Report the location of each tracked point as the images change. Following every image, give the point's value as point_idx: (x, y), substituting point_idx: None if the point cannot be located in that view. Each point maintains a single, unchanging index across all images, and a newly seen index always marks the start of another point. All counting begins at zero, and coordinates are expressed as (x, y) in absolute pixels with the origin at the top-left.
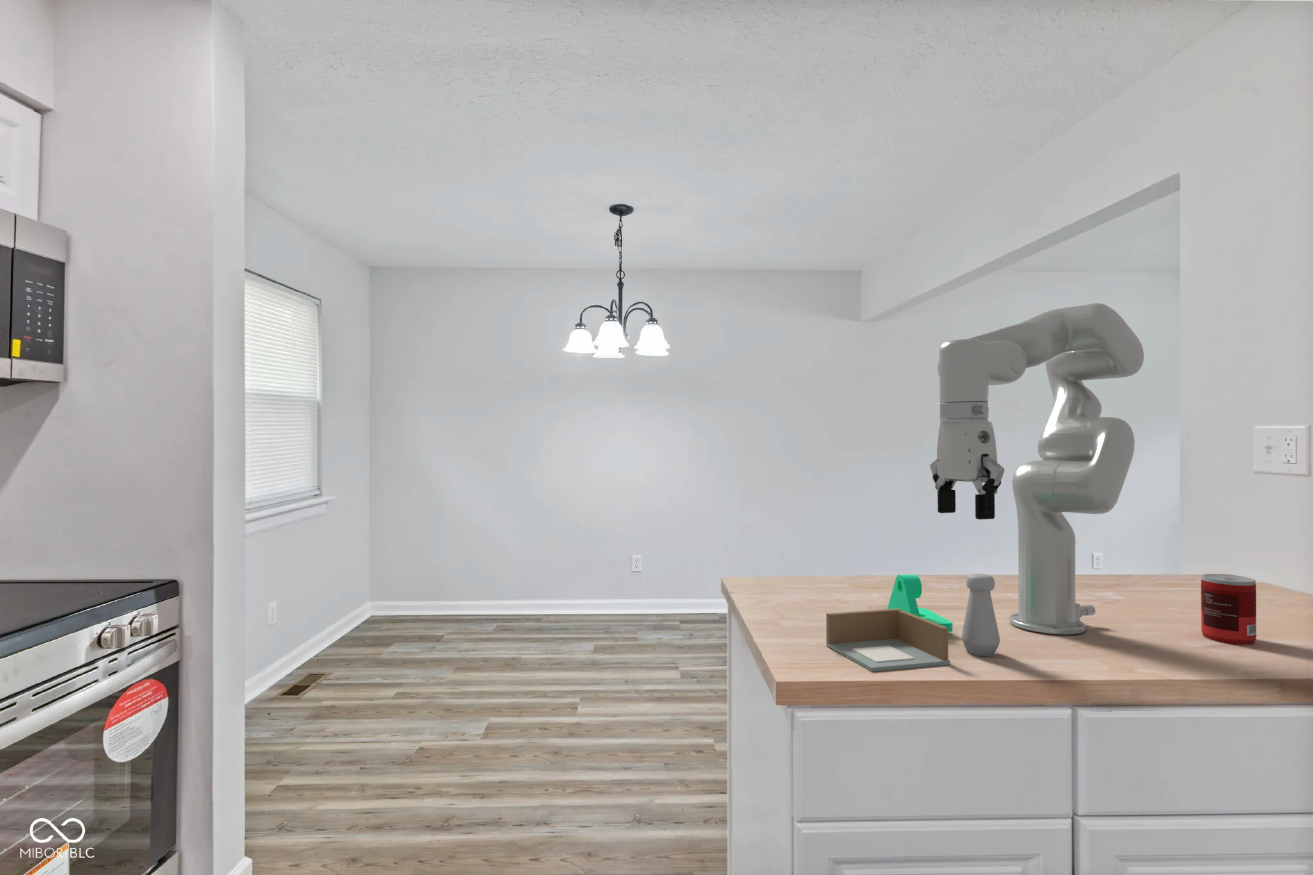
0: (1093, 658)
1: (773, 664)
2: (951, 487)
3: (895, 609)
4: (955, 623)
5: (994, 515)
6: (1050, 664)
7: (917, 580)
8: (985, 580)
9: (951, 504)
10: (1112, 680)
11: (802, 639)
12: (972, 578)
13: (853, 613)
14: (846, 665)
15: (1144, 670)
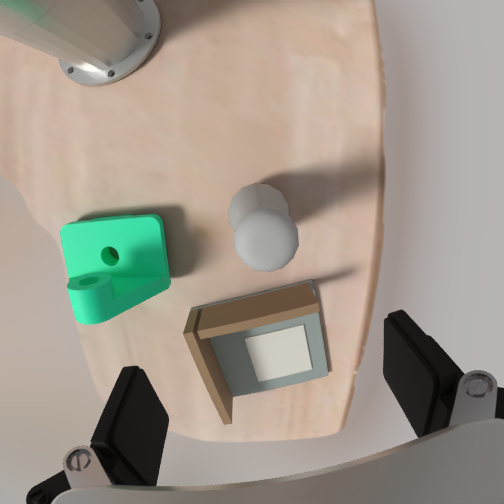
0: (287, 51)
1: (291, 439)
2: (102, 462)
3: (190, 339)
4: (84, 177)
5: (406, 314)
6: (317, 132)
7: (99, 293)
8: (298, 243)
9: (143, 406)
10: (382, 96)
11: (198, 409)
12: (280, 268)
13: (220, 398)
14: (302, 390)
15: (341, 26)
